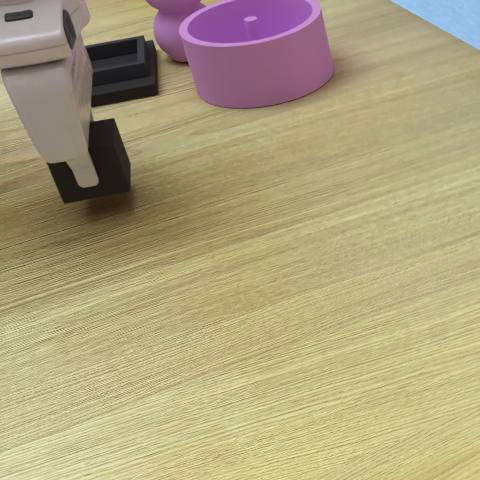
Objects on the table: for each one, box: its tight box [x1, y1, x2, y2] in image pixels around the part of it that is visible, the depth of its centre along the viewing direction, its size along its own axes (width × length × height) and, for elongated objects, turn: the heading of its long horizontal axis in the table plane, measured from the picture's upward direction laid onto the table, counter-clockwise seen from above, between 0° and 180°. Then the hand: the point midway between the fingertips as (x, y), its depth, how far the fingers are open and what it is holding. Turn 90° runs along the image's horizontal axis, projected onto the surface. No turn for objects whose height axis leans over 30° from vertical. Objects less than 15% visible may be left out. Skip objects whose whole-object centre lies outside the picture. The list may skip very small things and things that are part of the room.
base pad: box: [85, 34, 160, 108], centre depth 120 cm, size 10×14×3 cm
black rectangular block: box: [45, 117, 132, 205], centre depth 96 cm, size 6×6×4 cm
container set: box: [144, 0, 335, 109], centre depth 115 cm, size 25×15×13 cm, turn 49°
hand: (91, 165), depth 97 cm, fingers closed on black rectangular block, 6 cm apart
